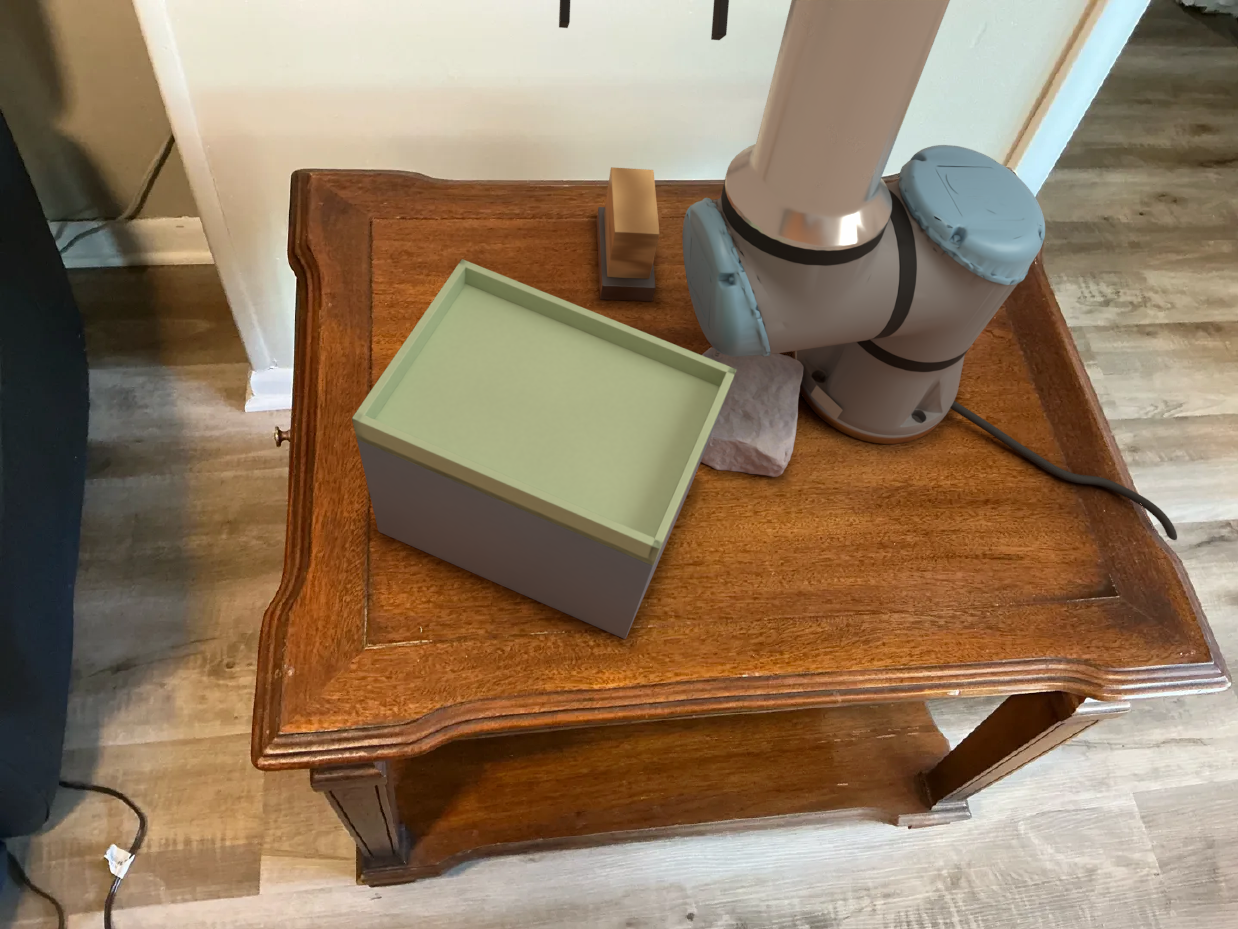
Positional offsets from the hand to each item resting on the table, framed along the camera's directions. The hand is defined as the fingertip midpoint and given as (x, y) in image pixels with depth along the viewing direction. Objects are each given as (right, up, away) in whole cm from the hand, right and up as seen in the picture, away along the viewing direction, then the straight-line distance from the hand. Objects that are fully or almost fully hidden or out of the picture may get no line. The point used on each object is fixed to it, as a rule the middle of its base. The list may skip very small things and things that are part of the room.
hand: (642, 31), depth 81 cm
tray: (-7, -34, -17) cm, 39 cm away
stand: (-8, -41, -5) cm, 42 cm away
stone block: (+8, -34, +2) cm, 35 cm away
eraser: (-2, -18, +10) cm, 20 cm away
